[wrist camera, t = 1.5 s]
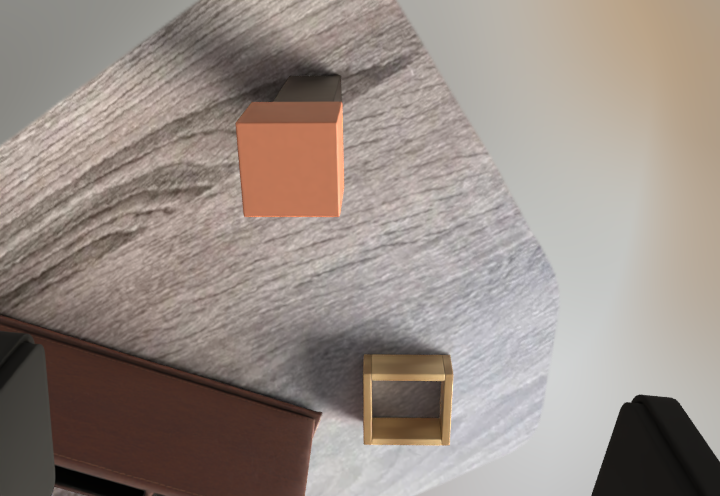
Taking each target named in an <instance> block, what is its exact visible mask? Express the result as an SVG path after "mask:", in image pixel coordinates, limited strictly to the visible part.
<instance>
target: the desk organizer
mask: <svg viewBox="0 0 720 496" xmlns="http://www.w3.org/2000/svg"><path fill="white" fill-rule="evenodd" d="M0 331H7V332H17V333H27V334H30V335H31V336H32V337H33V339H34V343H35V344H41V345H43V347H44V350H45V359H46V371H47V382H48V394H49V406H50V418H51V429H52V441H53V453H54V464H55V484H54V487H57V488H61V489H65V490H68V491H72V492H76V493H79V494H83V495H86V496H305V490H306V483H307V475H308V468H309V460H310V453H311V445H312V438H313V436H314V434H315V431H316V429H317V427H318V424H319V422H320V419H321V417H322V412H316V411H313V410H309V409H306V408H302V407H299V406H296V405H292V404H289V403H286V402H283V401H280V400H276V399H273V398H270V397H267V396H264V395H260V394H257V393H253V392H250V391H247V390H244V389H241V388H238V387H234V386H231V385H228V384H225V383H221V382H218V381H215V380H211V379H208V378H204V377H201V376H197V375H194V374H191V373H187V372H184V371H181V370H178V369H174V368H171V367H168V366H165V365H161V364H158V363H154V362H151V361H148V360H144V359H141V358H138V357H134V356H131V355H128V354H125V353H122V352H118V351H115V350H112V349H109V348H106V347H103V346H99V345H96V344H93V343H90V342H86V341H83V340H80V339H77V338H74V337H70V336H67V335H63V334H60V333H57V332H54V331H51V330H48V329H45V328H41V327H38V326H35V325H32V324H28V323H25V322H22V321H19V320H15V319H12V318H9V317H5V316H2V315H0Z"/></svg>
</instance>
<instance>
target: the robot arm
mask: <svg viewBox="0 0 720 496" xmlns="http://www.w3.org/2000/svg"><path fill="white" fill-rule="evenodd" d="M54 484H55V464H54V453H53V441H52V429H51V418H50V406H49V394H48V382H47V371H46V359H45V350H44V347H43V345H41V344H35V343H34V339H33V337H32V336H31V335H30V334H27V333H17V332H7V331H0V496H51V495H52V492H53V489H54ZM592 496H720V462H719V460H718V459H717V457H716V456H715V454H714V453H713V451H712V450H711V449H710V447H709V446H708V444H707V443H706V441H705V440H704V438H703V437H702V435H701V434H700V433H699V431H698V430H697V428H696V427H695V425H694V424H693V422H692V421H691V420H690V418H689V417H688V415H687V414H686V412H685V411H684V409H683V408H682V406H681V405H680V403H679V402H678V401H677V400H676V399H673V398H669V397H658V396H648V395H637V396H635V398H634V399H633V400H632V402H631V403H628V402H627V403H624V404H623V406H622V407H621V409H620V412H619V415H618V418H617V421H616V424H615V427H614V430H613V433H612V436H611V439H610V442H609V445H608V448H607V451H606V454H605V457H604V460H603V463H602V465H601V468H600V471H599V475H598V477H597V480H596V483H595V486H594V489H593V492H592Z"/></svg>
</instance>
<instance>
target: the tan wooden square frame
mask: <svg viewBox="0 0 720 496" xmlns="http://www.w3.org/2000/svg"><path fill="white" fill-rule="evenodd" d="M372 380H383V381H441V391H440V413H439V418H377V417H373V418H372ZM452 390H453V369H452V363H451V357H450V355H388V354H372V355H371V354H364V359H363V427H364V445H371V444H372V445H450V427H451V409H452Z"/></svg>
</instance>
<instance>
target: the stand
mask: <svg viewBox="0 0 720 496" xmlns="http://www.w3.org/2000/svg"><path fill="white" fill-rule="evenodd" d="M273 102H342V96H341V76H340V75H321V76H289V78H288V79H287V81H286V83H285V84H284V86H283V87H282V89H281V90H280V92H279V93H278V95H277V96H276V98H275V100H274V101H273Z"/></svg>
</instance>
